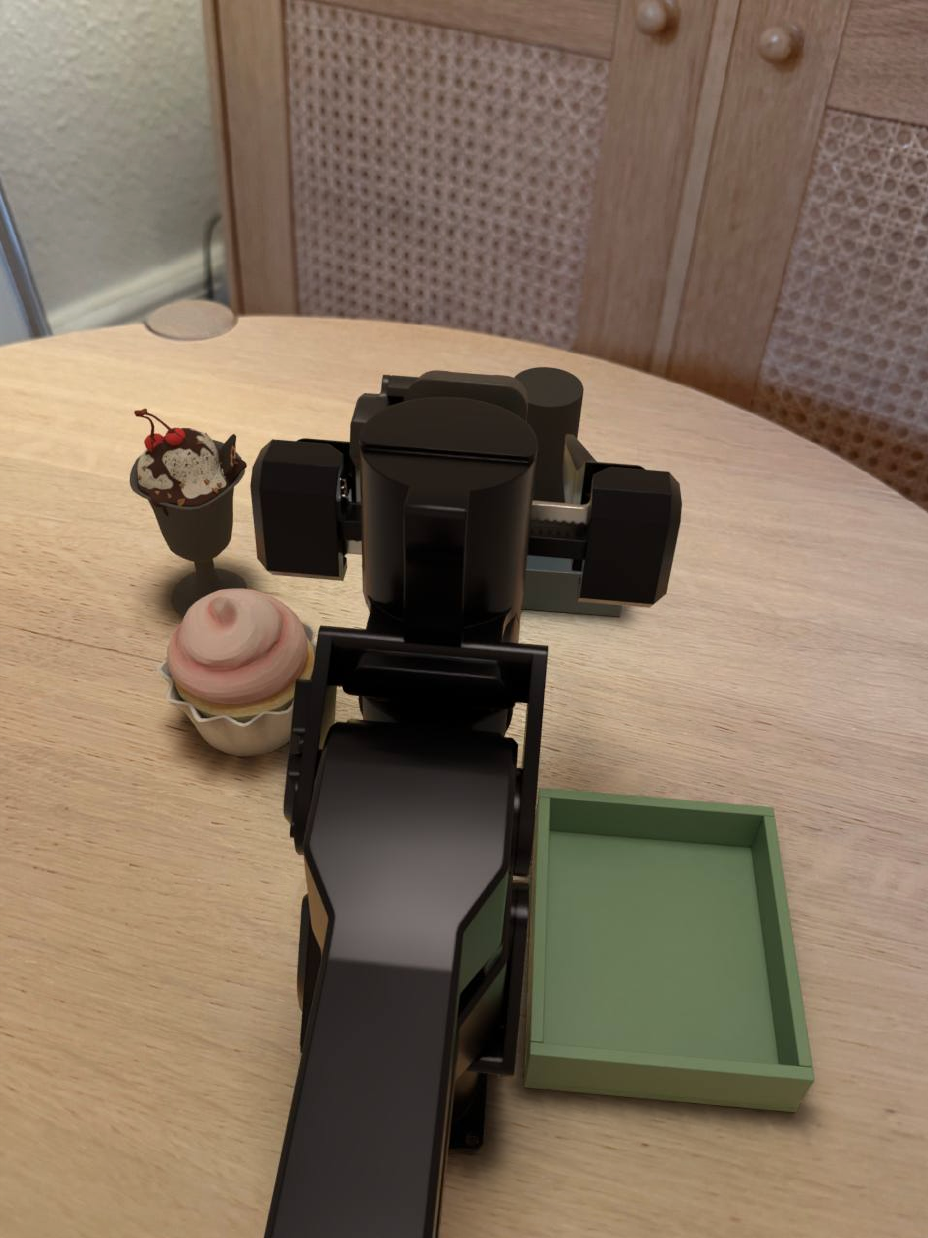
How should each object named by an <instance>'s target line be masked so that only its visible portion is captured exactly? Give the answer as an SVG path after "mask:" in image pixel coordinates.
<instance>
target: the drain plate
mask: <svg viewBox="0 0 928 1238" xmlns="http://www.w3.org/2000/svg"><path fill="white" fill-rule="evenodd" d="M580 577H581V572H579V571H572V568H571V559H564V558H552V557H541V556H529V555H527V566H526V576H525V587H524V595H523V600H522V604H521V610H533V611H542V612H543V611H544V612H546V611H547V612H556V613H557V612H558V613H571V614H585V615H596V616H609V617H621V613H622V610H623V609H622V608H623V605H612V604H601V603H589V602H578V582H579V578H580Z"/></svg>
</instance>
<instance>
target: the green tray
mask: <svg viewBox="0 0 928 1238" xmlns="http://www.w3.org/2000/svg"><path fill="white" fill-rule="evenodd" d="M780 847H781V846H780V842H779V834H778V828H777V821H776V815H775V809H774V807H773V806H767V805H766V806H763V805H752V804H740V803H731V802H730V803H729V802H718V801H717V802H716V801H705V800H694V799H693V800H692V799H679V798H668V797H655V796H645V795H633V794H632V795H631V794H619V793H609V792H597V791H586V790H575V789H574V790H572V789H563V788H562V789H561V788H550V787H539V788H538V792H537V799H536V812H535V824H534V836H533V847H532V867H531V871H532V872H531V889H530V893H531V894H530V919H529V921H530V922H529V940H528V941H529V945H528V967H527V969H528V970H527V972H528V973H527V993H526V994H527V995H526V1021H525V1024H526V1025H525V1046H524V1047H525V1049H524V1071H523V1073H524V1074H523V1087H524V1088H531V1089H539V1090H549V1091H550V1090H551V1091H562V1092H572V1093H584V1094H593V1095H594V1094H595V1095H604V1096H615V1097H616V1096H617V1097H626V1098H635V1099H636V1098H637V1099H647V1100H656V1101H657V1100H659V1101H669V1102H680V1103H690V1104H691V1103H692V1104H702V1105H712V1106H723V1107H733V1108H734V1107H735V1108H745V1109H753V1110H755V1109H756V1110H766V1111H775V1112H776V1111H777V1112H789V1113H796V1112H797V1110H798V1108H799V1107H800V1105H801V1103H802V1102H803V1100H804V1098H805V1097H806V1095H807V1094H808V1092H809V1090H810V1088H811V1087H812V1086H813V1084H814V1082H815V1080H816V1079H815V1073H814V1072H815V1071H814V1067H813V1065H814V1064H813V1060H812V1059H813V1058H812V1053H811V1052H812V1051H811V1045H810V1038H809V1033H808V1026H807V1020H806V1013H805V1007H804V1001H803V999H804V998H803V993H802V988H801V987H802V986H801V979H800V974H799V967H798V960H797V953H796V947H795V940H794V934H793V927H792V922H791V914H790V908H789V902H788V894H787V887H786V881H785V874H784V868H783V862H782V861H783V860H782V855H781V848H780Z"/></svg>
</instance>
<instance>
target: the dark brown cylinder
mask: <svg viewBox="0 0 928 1238" xmlns="http://www.w3.org/2000/svg"><path fill="white" fill-rule="evenodd" d="M513 378H515V379H517V380H519V381H520V382H521V383H522V384H523V385H524V387H525V389H526V391H527V394H528V412H527V423H528V424H529V425H530V427H531V428H532V430H533V431H534V432H535V434H536V438H537V442H538V451H537V461H536V472H535V482H534V493H533V501H545V502H557V503H565V496H564V486H563V475H562V472H563V456H564V445H565V436H566V434H571V435H574V436H575V437H576V438H577V439H578V437H579V429H580V422H581V414H582V407H583V399H584V398H583V397H584V391H585V389H584V385H583V383H582V381H581V379H580V378H578V377H577V376H576V375H575V374H573V373H571V372H569V371H567V370H564V369H562V368H561V369H560V368H558V367H549V366H537V367H530V368H527V369H524V370H521V371H520V372H518V373H517V374H515V376H514V377H513Z"/></svg>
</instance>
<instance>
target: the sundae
mask: <svg viewBox="0 0 928 1238" xmlns="http://www.w3.org/2000/svg"><path fill="white" fill-rule="evenodd" d="M133 413H134V415H135V417H138V418H144V419H146V420H148V421H149V424H150V434H148V435H147V436H146V437H145V439H144V441H143V442H144V443H143V444H144V447H145V449H144V451H143V452H142V454H140V456H138V457H137V458H136V459H135V461H134V464H133V465H132V467H131V470H130V473H129V486H130V488H131V490H132V491H133V492H134V493H135V494H136V495H138V496H139V497H141V498H142V499H145V500H147V501H148V504H149V505H150V507H151V510H152V511H153V514H154V516H155V519H156V521H157V525H158V528H159V530H160V533H161V535H162V537H163V539H164V541H165V543H166V545H167V547H168V549H169V550H170V552H172V553H173V554H174V555H175V556H178V557H180V558H182V559H183V560H186V561H188V562H192V563H193V564H194V569H195V571H192V572H191V573H188V574H186V575H185V576H184V577H182V578H181V579H180V580H179V581H178V582H177V583H176V584H175V585H174V587H173V588H172V592H171V594H170V601H171V605H172V607H173V608H174V609H175V610H176V611H177V612H178V613H179V615H182V616H185V615H186V613H187V611H188V609H189V608H190V607H191V606H192V605H193V604H194V603H195V602H197V601H198V600H200V599H201V598H203V597H205V596H207V595H209V594H211V593H213V592H216V591H219V590H224V589H248V585H247V583H246V581H245V580H244V579H243V578H242V577H241V576H240V575H239V574H238V573H235V572H233V571H230V570H228V569H226V568H221V567H215V562H214V559H215V558H217V557H218V556H219V555H221V554H222V553H223V552H224V550H226V549H227V548H228V546H229V545H230V543H231V541H232V535H233V526H234V491H235V487H236V486H237V485H238V484H239V483H240V481H241V480H242V479H243V478H244V475H245V474H246V469H247V467H248V464H247V462H246V461H245V460H243V459H242V457H241V456H240V454H239V453H238V452H237V447H236V444H237V443H236V442H237V435H236V434H235V433H232V434H231V435H230V436H229V437H228V439H227V440H225V442H223V441H219V440H216V439H212V438H211V436H209V435H208V433H207V432H203V431H200V430H197V429H195V428H192V427H191V428H190V427H170V426H169V425H168V424H167V423H165V422H164V421H163V420H161V418H159V417H158V416H157V415H154V414H153V413H150V412H148V409H147V408H143V409H141V410H137V409H136V410H134V412H133ZM151 417H152V418H153V419H155V420H156V421H157V422H159V423H160V424H161V425H162V426H163V427H165V428H166V429H167V431H166V433H165V435H162V434H161V433H155V424H154V422H153V420H152V419H151Z"/></svg>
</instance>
